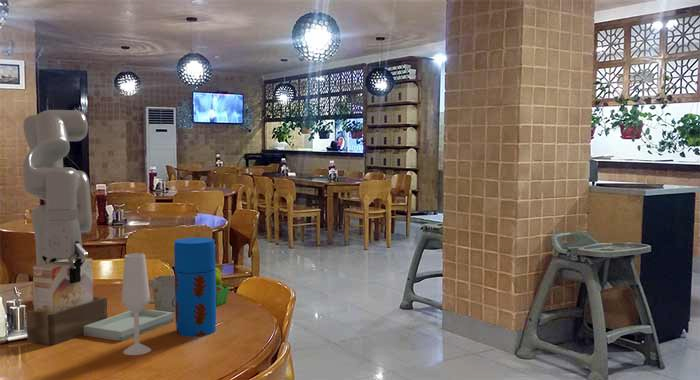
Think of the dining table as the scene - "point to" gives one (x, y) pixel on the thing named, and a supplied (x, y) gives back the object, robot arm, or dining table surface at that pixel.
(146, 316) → the tray
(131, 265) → the champagne flute
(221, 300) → the fruit basket
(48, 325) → the holder
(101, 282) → the dining table surface
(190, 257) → the thermos
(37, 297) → the coffeecake box
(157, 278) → the mug
